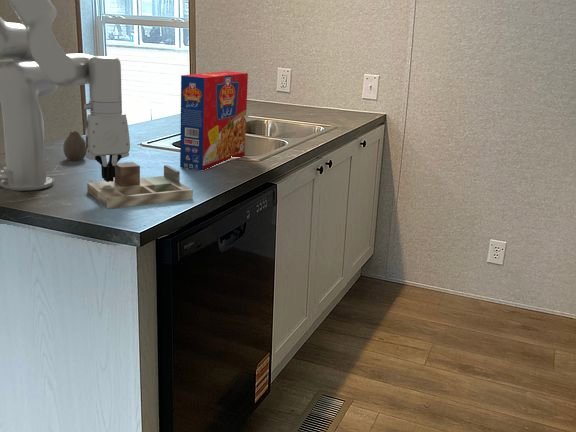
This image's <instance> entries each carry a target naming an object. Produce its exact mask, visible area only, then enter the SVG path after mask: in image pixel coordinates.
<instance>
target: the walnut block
mask: <svg viewBox="0 0 576 432" xmlns="http://www.w3.org/2000/svg"><path fill="white" fill-rule="evenodd" d="M140 178H141V165H139V164H138V163H136V162H134V161H126V162H117V165H116V166H115V177H114V180H115V183H117V184H118V185H120V186H121V187H122V186H133V185H140Z"/></svg>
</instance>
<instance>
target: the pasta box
mask: <svg viewBox="0 0 576 432" xmlns="http://www.w3.org/2000/svg"><path fill="white" fill-rule="evenodd" d="M248 80H249V73H248V72H239V71H228V70H225V71H215V72H203V73H192V74H183V75H180V140H179V142H180V146H179V147H180V150H179V153H180V158H179V160H180V161H179V162H180V163H179V164H180V165H179V167H182V168H181V169H186V168H188V170H192V169H196V170H195V171H198V170H205V169H207V168H210V167H212V166H214V165H216V164H219V163H221V162H223V161H226V160H228V159H230V158H231V156H232V157H241V158H243V157H245V156H246V154H245V153H246V135H247V134H246V132H247V131H246V130H247V129H246V128H247V108H248V107H247V105H248ZM210 169H211V168H210ZM207 170H208V169H207ZM205 171H206V170H205Z"/></svg>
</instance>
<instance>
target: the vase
mask: <svg viewBox="0 0 576 432" xmlns="http://www.w3.org/2000/svg"><path fill="white" fill-rule="evenodd" d="M62 146H63V147H62V148H63V154H64V156H65V157H66V159H67V160H69V161H72V162H80V161H82V160H84V159H85V158H86V152H87V150H86V145H85V139H84V138H83V137H82V135H81V134H80V132H79V131H77V130H72V131H70V133H69V134H68V136H67V137H66V138H65V140H64V143H63V145H62Z"/></svg>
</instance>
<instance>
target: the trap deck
mask: <svg viewBox="0 0 576 432" xmlns="http://www.w3.org/2000/svg"><path fill="white" fill-rule="evenodd" d="M180 177H181V176H180V171H179V170H177V169H176V168H173V167H172V166H170V165H168V164H163V175H161V176H151V177H140V185H133V186H122V187H121V186H120V185H118V184H117V183H115V179H114V181H113V182H111V181H109V182H106V181H105V180H103V181H90V182H86V184H87V185H86V186H87V193H88V194H89V195H91V196H92V197H93V198H94V199H96V201H98V202H99V203H100V204H102V205H103V206H104V207H106V208H107V210H109V209H115V208H116V209H118V208H126V207H127V208H128V207H136V206H143V205H152V204H154V205H155V204H163V203H171V202H178V201H179V200H181V201H189V199H190V200H193V199H194V198H193V197H194V195H193V192H194V190H193V189H192V188H190V187H188V186H187V185H185V184H183V183H181V182H180V180H181V179H180ZM179 202H180V201H179Z"/></svg>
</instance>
